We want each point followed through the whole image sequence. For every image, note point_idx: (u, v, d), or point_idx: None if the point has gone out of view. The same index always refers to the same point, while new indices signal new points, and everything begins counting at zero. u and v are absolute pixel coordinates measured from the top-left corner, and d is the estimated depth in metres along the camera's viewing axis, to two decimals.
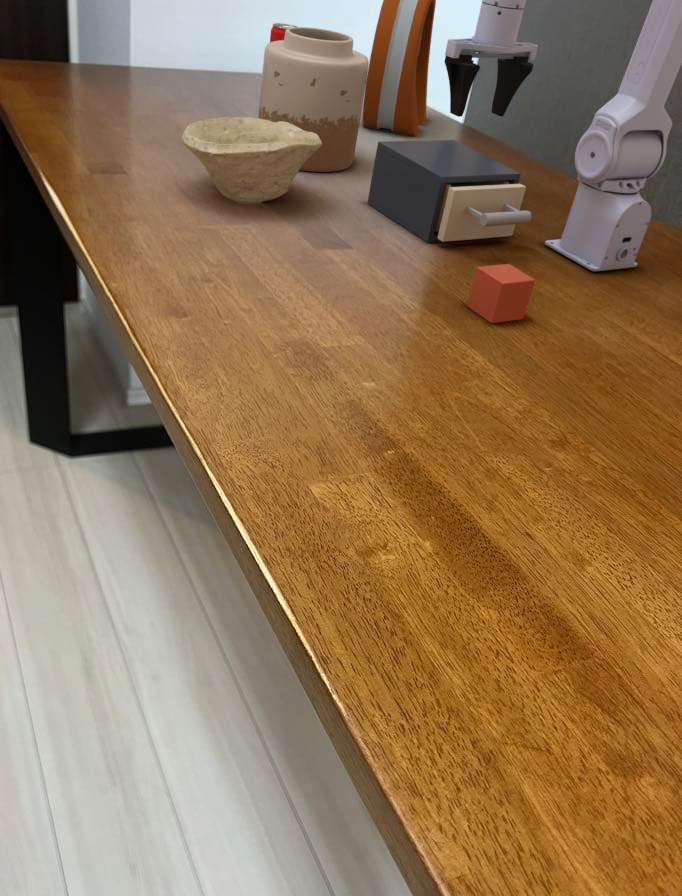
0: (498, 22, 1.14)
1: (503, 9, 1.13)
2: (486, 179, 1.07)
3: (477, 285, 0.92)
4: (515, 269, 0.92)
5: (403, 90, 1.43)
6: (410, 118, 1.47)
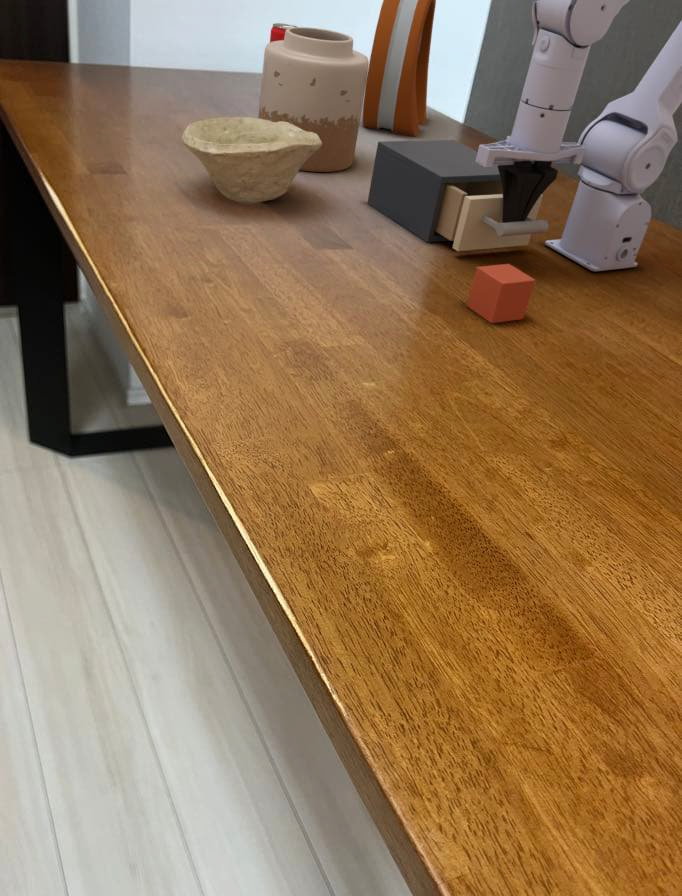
0: (540, 125, 0.94)
1: (547, 111, 0.93)
2: (486, 179, 1.07)
3: (477, 285, 0.92)
4: (515, 269, 0.92)
5: (403, 90, 1.43)
6: (410, 118, 1.47)
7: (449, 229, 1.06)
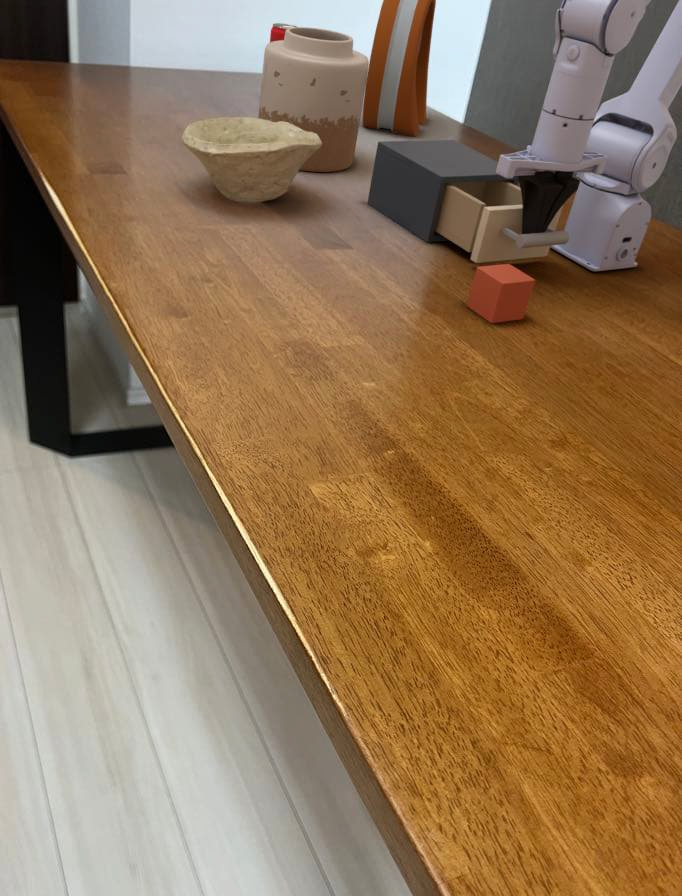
0: (563, 135, 0.92)
1: (570, 120, 0.91)
2: (486, 179, 1.07)
3: (477, 285, 0.92)
4: (515, 269, 0.92)
5: (403, 90, 1.43)
6: (410, 118, 1.47)
7: (467, 240, 1.04)
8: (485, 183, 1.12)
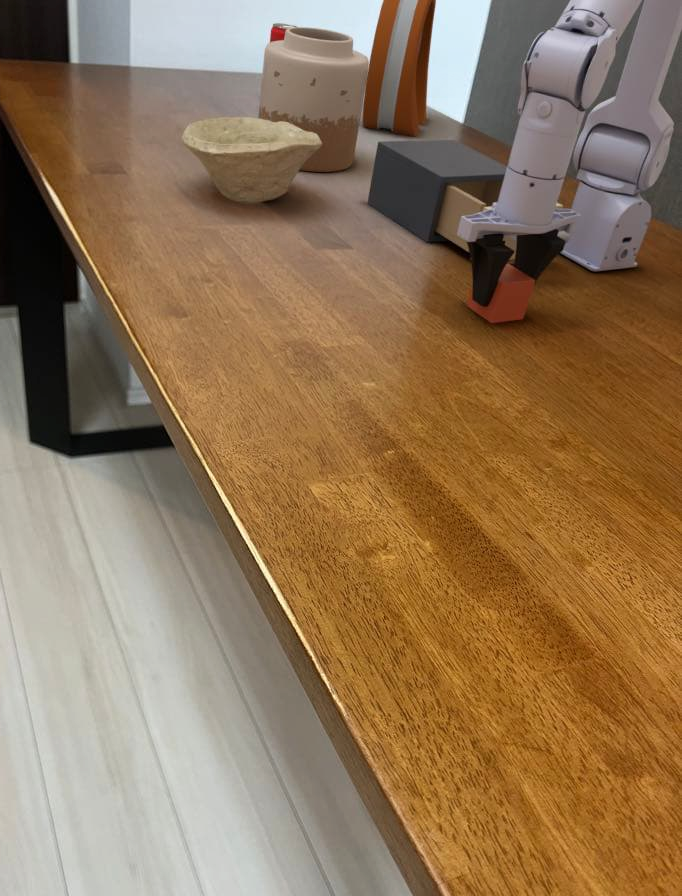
0: (529, 195, 0.83)
1: (537, 180, 0.82)
2: (486, 179, 1.07)
3: None
4: (515, 269, 0.92)
5: (403, 90, 1.43)
6: (410, 118, 1.47)
7: None
8: (485, 183, 1.12)
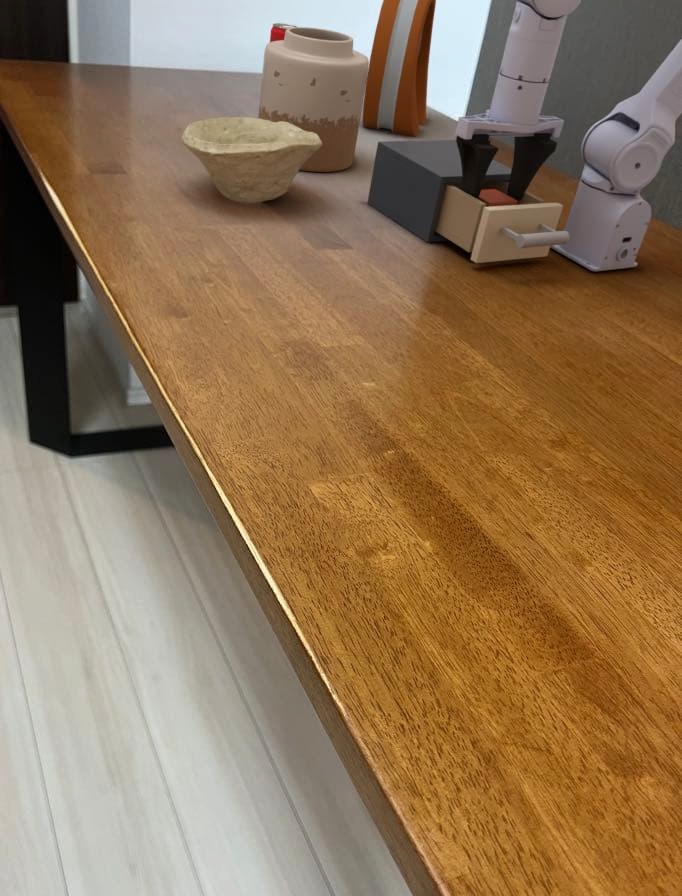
0: (518, 97, 0.96)
1: (525, 83, 0.95)
2: (486, 179, 1.07)
3: None
4: (500, 193, 1.07)
5: (403, 90, 1.43)
6: (410, 118, 1.47)
7: (467, 241, 1.04)
8: (485, 183, 1.12)
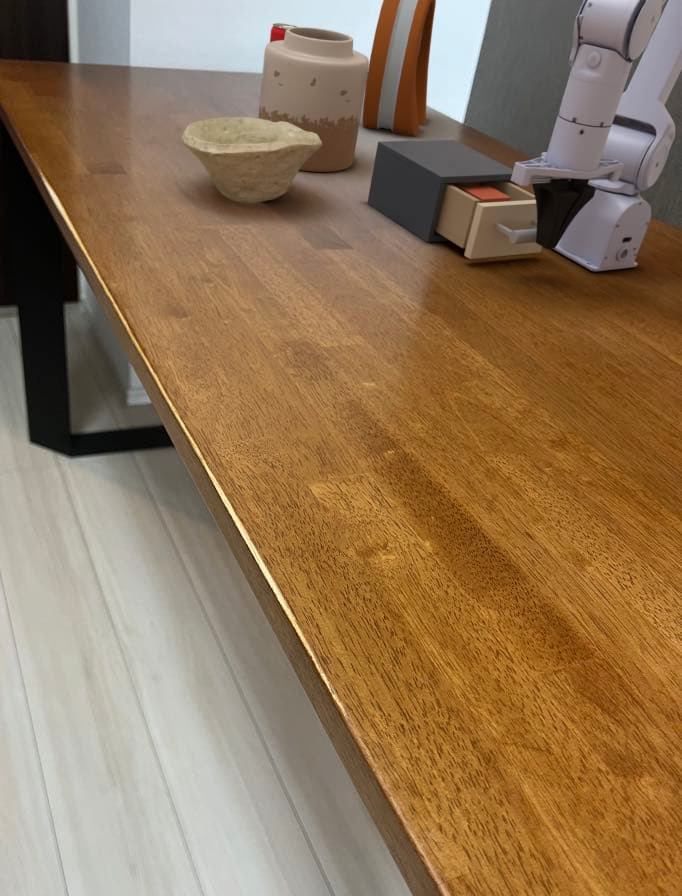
0: (579, 142, 0.90)
1: (587, 128, 0.89)
2: (486, 179, 1.07)
3: None
4: (494, 189, 1.08)
5: (403, 90, 1.43)
6: (410, 118, 1.47)
7: (461, 237, 1.05)
8: None
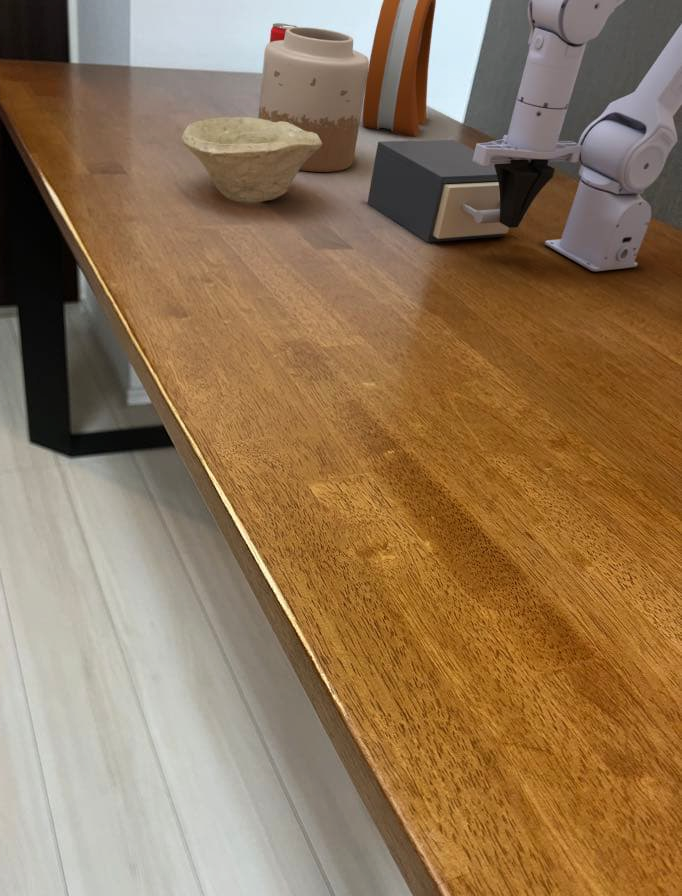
0: (536, 124, 0.95)
1: (543, 109, 0.94)
2: (486, 179, 1.07)
3: None
4: None
5: (403, 90, 1.43)
6: (410, 118, 1.47)
7: None
8: None
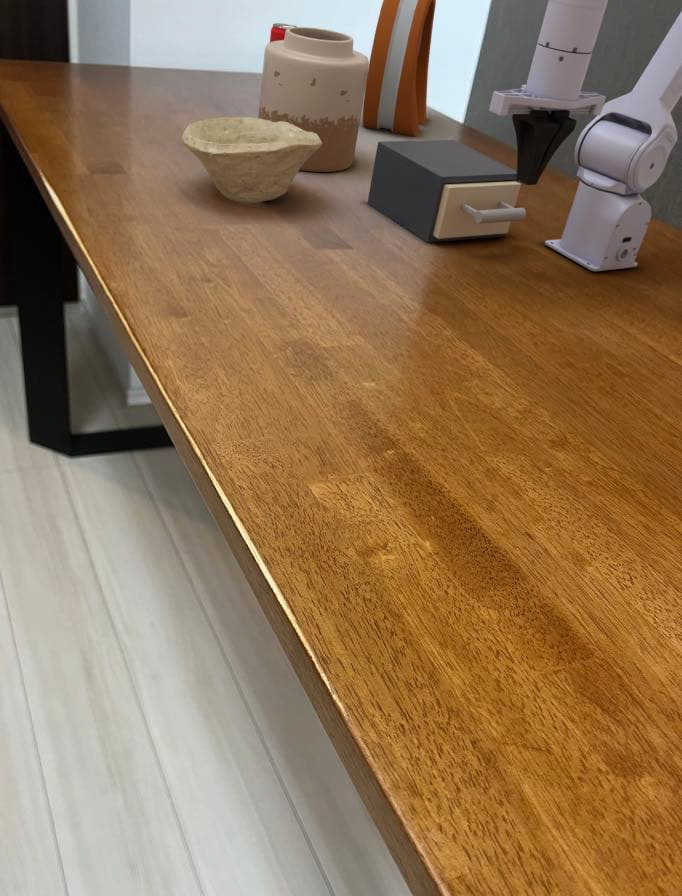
0: (559, 70, 0.88)
1: (566, 54, 0.87)
2: (486, 179, 1.07)
3: None
4: None
5: (403, 90, 1.43)
6: (410, 118, 1.47)
7: None
8: None
